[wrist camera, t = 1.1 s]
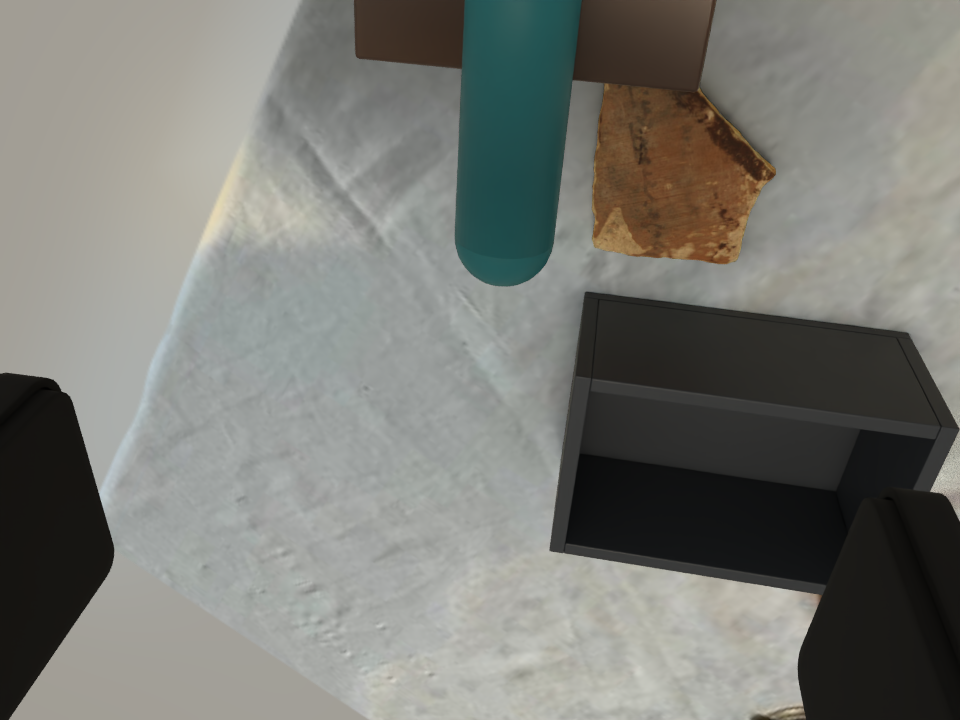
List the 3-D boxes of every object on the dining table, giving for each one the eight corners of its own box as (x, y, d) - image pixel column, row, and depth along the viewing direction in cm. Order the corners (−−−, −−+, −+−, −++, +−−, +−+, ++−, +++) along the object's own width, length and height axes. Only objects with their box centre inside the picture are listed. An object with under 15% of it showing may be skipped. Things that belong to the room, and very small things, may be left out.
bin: (561, 453, 46) (549, 551, 40) (585, 291, 41) (574, 376, 34) (843, 495, 45) (876, 604, 38) (908, 332, 39) (960, 429, 33)
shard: (610, -9, 33) (609, -1, 32) (806, 0, 32) (815, 8, 31) (587, 238, 39) (585, 254, 38) (753, 252, 38) (757, 269, 37)
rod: (492, -368, 15) (469, -398, 13) (626, -362, 15) (624, -392, 13) (462, 254, 22) (444, 297, 20) (553, 265, 21) (543, 310, 19)
